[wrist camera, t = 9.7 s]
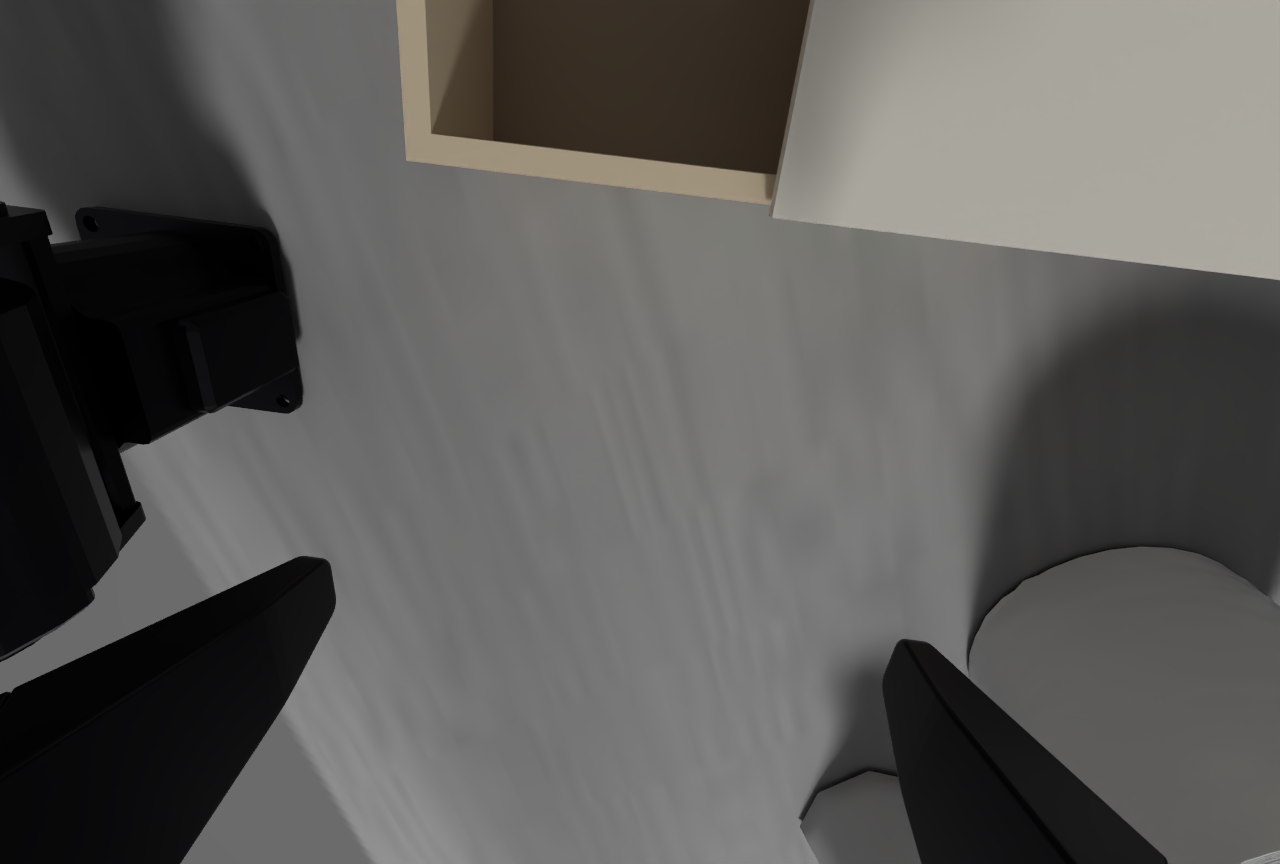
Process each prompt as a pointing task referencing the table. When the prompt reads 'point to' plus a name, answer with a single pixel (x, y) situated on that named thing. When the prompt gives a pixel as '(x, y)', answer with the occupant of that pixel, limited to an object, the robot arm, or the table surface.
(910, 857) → the flask
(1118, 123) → the carton lid
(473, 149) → the carton
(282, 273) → the robot arm
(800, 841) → the table surface
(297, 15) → the table surface
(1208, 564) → the toilet tissue
